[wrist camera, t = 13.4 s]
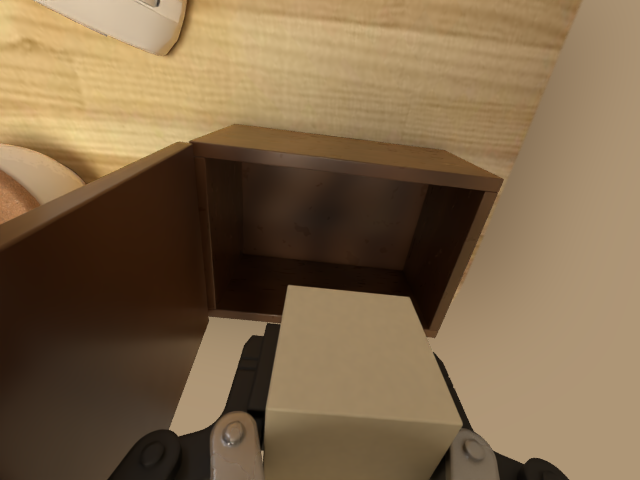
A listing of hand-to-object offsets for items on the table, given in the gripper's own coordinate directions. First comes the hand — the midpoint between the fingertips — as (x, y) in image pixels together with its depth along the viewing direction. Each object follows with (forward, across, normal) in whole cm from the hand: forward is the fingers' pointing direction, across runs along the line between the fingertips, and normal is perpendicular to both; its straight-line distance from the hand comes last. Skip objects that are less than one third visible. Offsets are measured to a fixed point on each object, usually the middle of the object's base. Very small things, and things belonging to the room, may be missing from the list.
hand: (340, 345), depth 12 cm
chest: (+16, 0, 0) cm, 16 cm away
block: (+1, 0, 0) cm, 1 cm away
